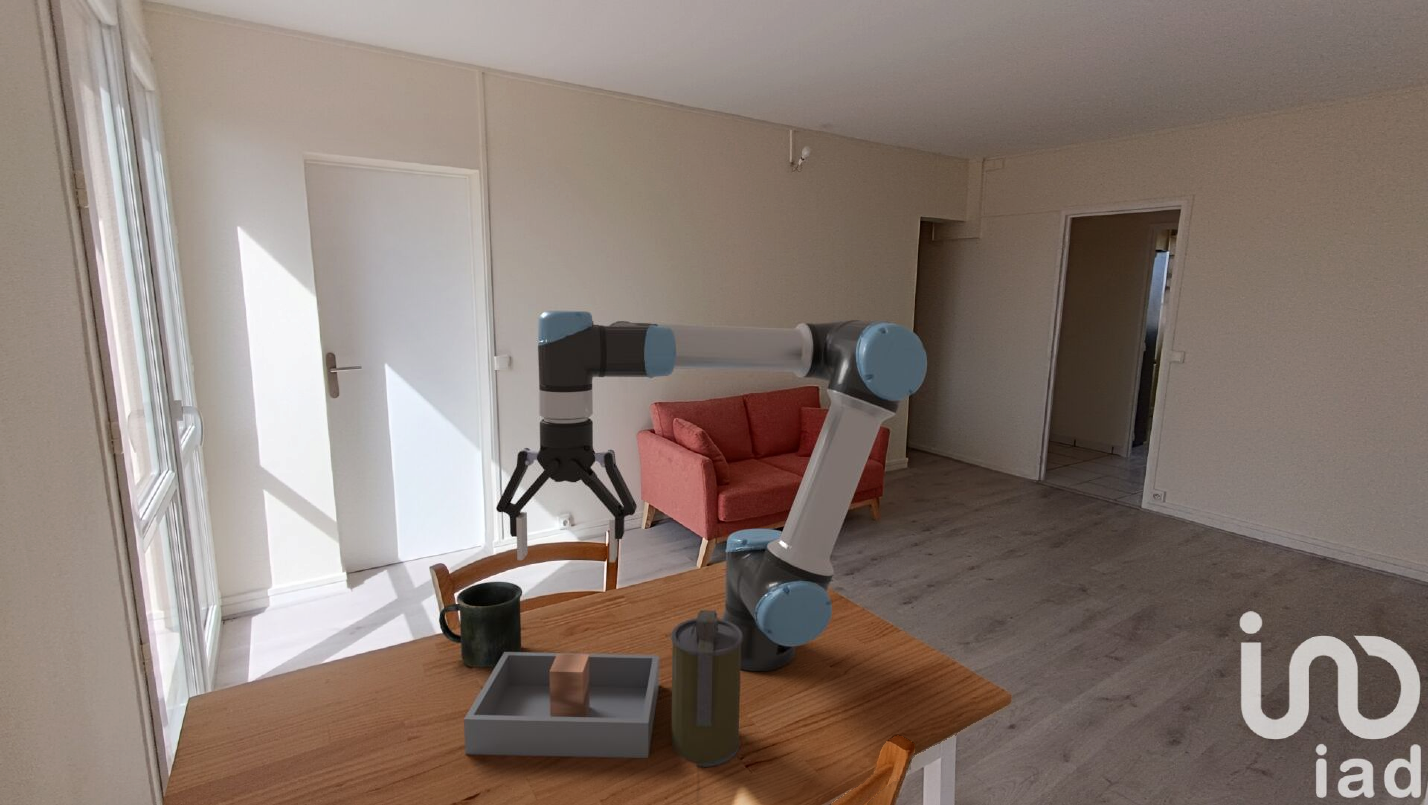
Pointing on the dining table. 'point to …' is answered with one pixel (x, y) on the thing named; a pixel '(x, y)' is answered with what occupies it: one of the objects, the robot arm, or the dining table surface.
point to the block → (569, 686)
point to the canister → (706, 689)
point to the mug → (486, 622)
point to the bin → (522, 725)
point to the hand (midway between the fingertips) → (567, 558)
